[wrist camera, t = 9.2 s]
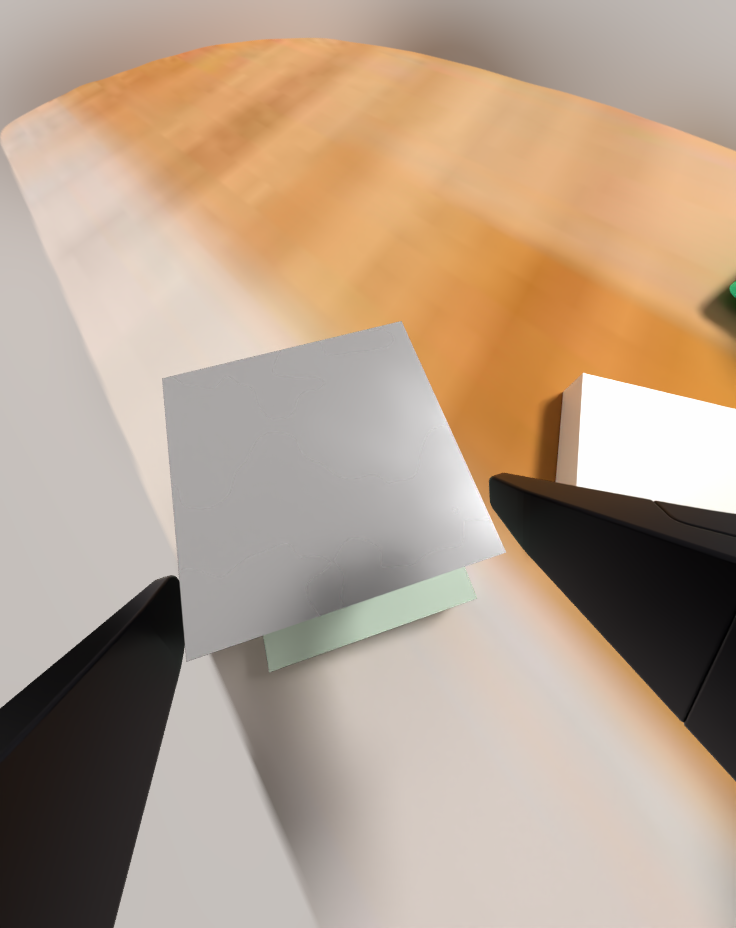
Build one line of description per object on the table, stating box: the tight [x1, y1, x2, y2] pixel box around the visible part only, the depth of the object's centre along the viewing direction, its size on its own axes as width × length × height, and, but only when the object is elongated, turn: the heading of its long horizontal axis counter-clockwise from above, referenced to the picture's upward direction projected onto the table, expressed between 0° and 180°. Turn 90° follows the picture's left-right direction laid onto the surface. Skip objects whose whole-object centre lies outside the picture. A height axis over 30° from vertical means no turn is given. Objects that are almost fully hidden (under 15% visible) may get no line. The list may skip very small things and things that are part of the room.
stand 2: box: [556, 373, 736, 514], centre depth 17 cm, size 10×10×2 cm
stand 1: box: [263, 567, 477, 672], centre depth 16 cm, size 10×10×2 cm
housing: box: [162, 321, 506, 661], centre depth 10 cm, size 6×6×10 cm
